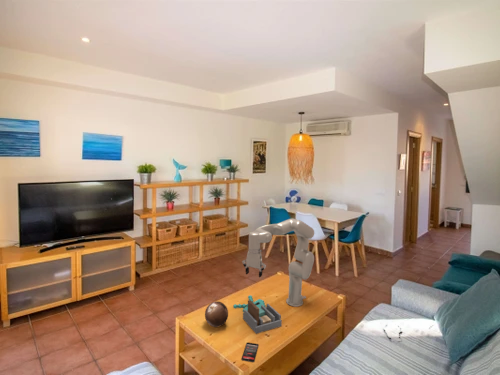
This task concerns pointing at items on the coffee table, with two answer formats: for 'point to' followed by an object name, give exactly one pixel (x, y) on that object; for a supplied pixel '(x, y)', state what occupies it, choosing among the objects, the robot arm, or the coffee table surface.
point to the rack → (262, 327)
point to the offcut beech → (265, 319)
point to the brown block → (253, 311)
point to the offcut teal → (261, 312)
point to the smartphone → (250, 352)
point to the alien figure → (257, 303)
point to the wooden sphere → (216, 314)
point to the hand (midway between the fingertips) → (253, 275)
